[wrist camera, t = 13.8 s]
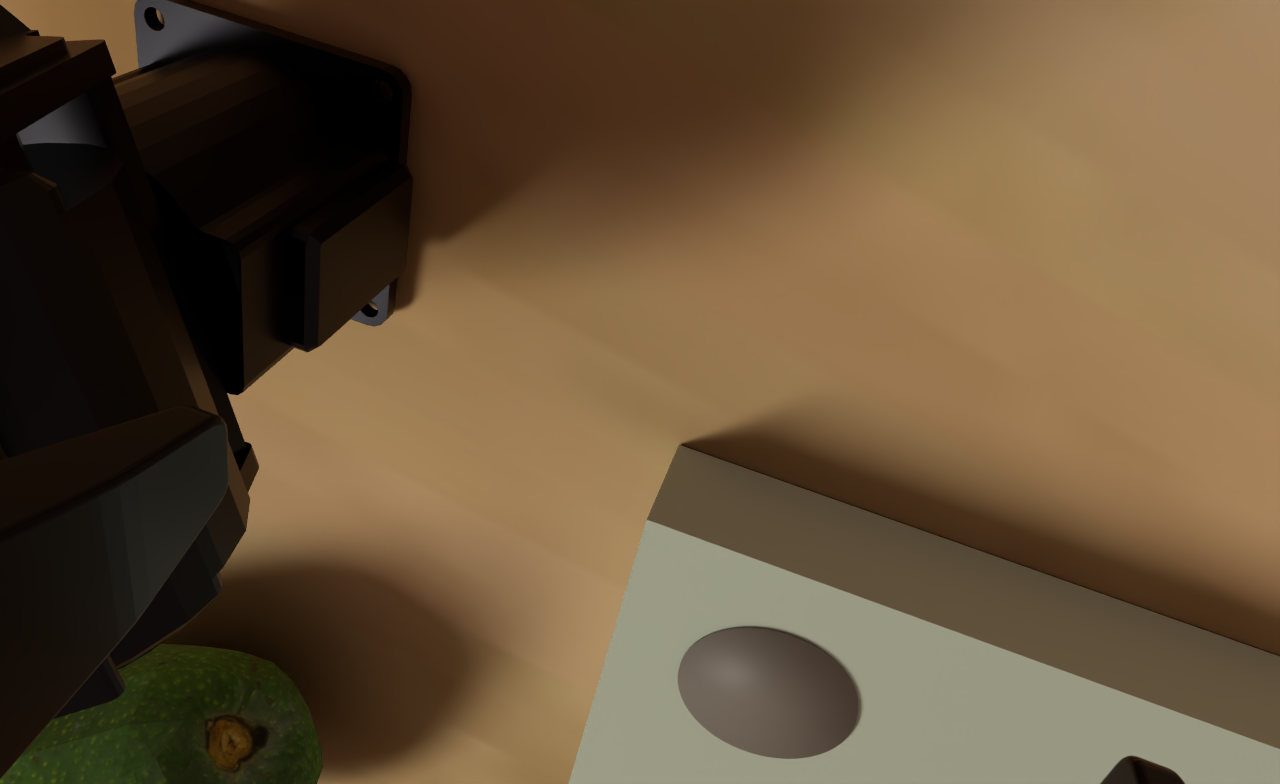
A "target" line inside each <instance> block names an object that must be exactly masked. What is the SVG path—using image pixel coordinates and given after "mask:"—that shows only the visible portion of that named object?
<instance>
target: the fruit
mask: <svg viewBox="0 0 1280 784" xmlns="http://www.w3.org/2000/svg"><path fill="white" fill-rule="evenodd" d="M118 671H119V673H120V675H121V677H122V679H123V681H124V683H125V686H126V687H125V690H124V692H123V693H122V694H121V695H120V696H119V697H118V698H116V699H115V700H113V701H110V702H107V703H104V704H101V705H98V706H95V707H91V708H88V709H85V710H82V711H79V712H75V713H72V714H69V715H66V716H62V717H59V718H56V719H53V720H52V721H51V722H50V723H49V724H48V725H47V726H46V728H45V729H44V730H43V731H42V732H41V733H40V734H39V736H38V737H37V738H36V739H35V740H34V741H33V743H32V744H31V745H30V746H29V747H28V748H27V749H26V751H25V752H24V753H23V754H22V755H21V756H20V757H19V759H18V760H17V761H16V762H15V763H14V764H13V766H12V767H11V768H10V769H9V770H8V771H7V772H6V774H5V775H4V776H3V777H2V778H1V779H0V784H317V782H318V779H319V776H320V773H321V771H322V768H323V763H322V754H321V745H320V742H319V739H318V736H317V733H316V729H315V726H314V723H313V720H312V716H311V713H310V710H309V707H308V705H307V703H306V702H305V700H304V698H303V697H302V695H301V693H300V692H299V690H298V688H297V687H296V685H295V684H294V682H293V680H292V679H291V678H289V677H288V676H287V675H286V674H285V673H284V672H283V671H282V670H281V669H280V668H278V667H277V666H276V665H275V664H274V663H273V662H270V661H268V660H265V659H262V658H259V657H256V656H253V655H250V654H248V653H245V652H240V651H234V650H228V649H221V648H213V647H205V646H195V645H178V644H159V645H158V646H157V647H156V648H154V649H153V650H152V651H151V652H149V653H147V654H146V655H144V656H142V657H140V658H139V659H137V660H135V661H134V662H132V663H130V664H129V665H127V666H125V667H123V668H121V669H119V670H118Z"/></svg>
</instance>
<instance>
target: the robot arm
mask: <svg viewBox="0 0 1280 784" xmlns="http://www.w3.org/2000/svg"><path fill="white" fill-rule="evenodd" d="M156 9H157V10H159V11H160V13H161V14H162V15H163V18H164V22H165V24H164V25H163V24H162V23H161V22H160V21H159V19H158V17H157V14H156ZM134 16H135V28H136V40H137V52H138V64H139V69H136V70H134V71H131V72H128V73H125V74H123V75H120V76H117V77H115V78H111V76H113V75H114V74H116V70H115V67H114V64H113V62H112V59H111V56H110V53H109V51H108V48H107V45H106V42H105V40H82V41H65V40H64V37H52V36H40V35H39V32H38V30H30V29H29V28H28V27H27V26H25V25H24V24H23V23H22V22H21V21H19V20H18V19H17V18H16V17H15V16H13V15H12V14H11V13H10V12H9V11H7V10H6V9H5V8H4V7H3V6H1V5H0V779H1V778H2V777H3V776H4V775H5V774H6V772H7V771H8V770H9V769H10V768H11V767H12V766H13V764H14V763H15V762H16V761H17V760H18V759H19V757H20V756H21V755H22V754H23V753H24V752H25V751H26V749H27V748H28V747H29V746H30V745H31V744H32V743H33V741H34V740H35V739H36V738H37V737H38V736H39V734H40V733H41V732H42V731H43V730H44V729H45V728H46V726H47V725H48V724H49V723H50V722H51V721H52V720H53V719H56V718H59V717H62V716H66V715H69V714H72V713H75V712H79V711H82V710H85V709H88V708H91V707H95V706H98V705H101V704H104V703H107V702H110V701H113V700H115V699H116V698H118V697H119V696H120V695H121V694H122V693H123V692H124V690H125V687H126V686H125V683H124V681H123V679H122V677H121V675H120V673H119V671H118V670H119V669H121V668H123V667H125V666H127V665H129V664H130V663H132V662H134V661H135V660H137V659H139V658H140V657H142V656H144V655H146V654H147V653H149V652H151V651H152V650H153V649H154V648H156V647H157V646H158V645H159V644H161V643H162V642H163V641H165V640H166V639H167V638H169V637H170V636H172V635H173V634H175V633H176V632H178V631H179V630H181V629H182V628H184V627H185V626H186V625H187V624H188V623H189V622H191V621H192V620H193V619H194V618H195V617H196V616H197V615H198V614H199V613H201V612H202V611H203V610H204V609H205V608H206V607H207V606H208V605H209V604H210V603H212V601H213V600H214V599H215V598H216V596H217V595H218V594H219V592H220V591H221V589H222V584H223V582H222V579H221V577H220V575H219V571H220V570H221V569H222V568H223V567H224V565H225V564H226V562H227V560H228V559H229V557H230V555H231V554H232V552H233V551H234V549H235V547H236V546H237V544H238V543H239V541H240V539H241V538H242V536H243V534H244V533H245V531H246V527H247V519H248V512H249V504H250V497H249V495H248V491H249V489H250V487H251V485H252V482H253V480H254V478H255V476H256V473H257V471H258V469H259V465H258V462H257V459H256V456H255V454H254V451H253V448H252V445H251V444H250V443H247V442H244V439H243V436H242V433H241V431H240V428H239V425H238V422H237V420H236V417H235V414H234V412H233V409H232V406H231V403H230V401H229V398H228V395H227V393H229V394H233V395H239V394H241V393H242V392H244V391H245V390H246V389H247V388H248V387H249V386H251V385H252V384H253V383H254V382H255V381H256V380H258V379H259V378H260V377H261V376H262V375H263V374H264V373H266V372H267V371H268V370H269V369H270V368H271V367H273V366H274V365H275V364H276V363H277V362H278V361H280V360H281V359H282V358H283V357H284V356H285V355H286V354H288V353H289V352H290V351H291V350H292V349H293V348H297V349H299V350H302V351H305V352H310V351H312V350H313V349H315V348H317V347H319V346H321V345H322V344H323V343H324V342H325V341H326V340H327V339H329V338H330V337H331V336H332V335H333V334H334V333H335V332H336V331H338V330H339V329H340V328H341V327H342V326H343V325H344V324H345V323H346V322H348V321H349V320H350V319H352V320H354V321H357V322H360V323H363V324H366V325H370V326H378V325H381V324H382V323H383V322H384V321H385V320H387V319H388V318H389V317H390V316H391V315H392V314H393V312H394V309H395V299H396V287H397V277H398V276H399V275H400V274H401V273H402V272H403V271H404V270H405V267H406V257H407V246H408V234H409V222H410V210H411V198H412V186H413V177H412V175H411V173H410V171H409V168H408V167H407V166H406V160H407V148H408V135H409V122H410V110H411V97H412V92H411V85H410V82H409V80H408V78H407V76H406V75H405V74H404V73H403V72H402V71H401V70H400V69H399V68H397V67H395V66H393V65H391V64H388V63H385V62H381V61H378V60H375V59H372V58H369V57H366V56H363V55H359V54H356V53H353V52H350V51H347V50H344V49H341V48H338V47H334V46H331V45H328V44H325V43H322V42H319V41H316V40H312V39H309V38H306V37H303V36H300V35H297V34H294V33H290V32H287V31H284V30H281V29H278V28H275V27H272V26H269V25H265V24H262V23H259V22H256V21H253V20H250V19H247V18H243V17H240V16H237V15H234V14H231V13H228V12H225V11H221V10H218V9H215V8H212V7H209V6H206V5H203V4H200V3H196V2H193V1H190V0H137V2H136V4H135V10H134ZM381 81H384V82H385V83H387V84H388V85H389V86H390V88H391V89H392V94H393V97H392V99H389V98H388V97H386V96H384V94H383V93H382V91H381V88H380V82H381ZM370 301H373V302H374V303H375V304H376V306H377V308H378V310H375V309H374V308H372V307H371V306H370V304H369V302H370ZM1100 784H1185V783H1184V781H1183V780H1182V779H1181V777H1180V776H1179V775H1178V774H1177V773H1176V772H1174V771H1173V770H1171V769H1169V768H1167V767H1164V766H1161V765H1159V764H1156V763H1153V762H1151V761H1148V760H1145V759H1143V758H1140V757H1137V756H1127V757H1124V758H1122V759H1121V760H1120V761H1119V762H1118V763H1117V764H1116V765H1115V766H1114V768H1113V769H1112V770H1111V771H1110V772H1109V773H1108V775H1107V776H1106V777H1105V778H1104V779H1103V781H1102V782H1101V783H1100Z"/></svg>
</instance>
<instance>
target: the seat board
mask: <svg viewBox="0 0 1280 784" xmlns="http://www.w3.org/2000/svg"><path fill="white" fill-rule="evenodd" d="M1127 756H1137V757H1140V758H1143V759H1145V760H1148V761H1151V762H1153V763H1156V764H1159V765H1161V766H1164V767H1167V768H1169V769H1171V770H1173V771H1174V772H1176V773H1177V774H1178V775H1179V776H1180V777H1181V779H1182V780H1183V781H1184V783H1185V784H1280V656H1277V655H1274V654H1271V653H1268V652H1265V651H1263V650H1260V649H1257V648H1254V647H1251V646H1248V645H1246V644H1243V643H1240V642H1237V641H1234V640H1231V639H1229V638H1226V637H1223V636H1220V635H1217V634H1214V633H1212V632H1209V631H1206V630H1203V629H1200V628H1197V627H1194V626H1192V625H1189V624H1186V623H1183V622H1180V621H1177V620H1175V619H1172V618H1169V617H1166V616H1163V615H1160V614H1158V613H1155V612H1152V611H1149V610H1146V609H1143V608H1141V607H1138V606H1135V605H1132V604H1129V603H1126V602H1124V601H1121V600H1118V599H1115V598H1112V597H1109V596H1107V595H1104V594H1101V593H1098V592H1095V591H1092V590H1090V589H1087V588H1084V587H1081V586H1078V585H1075V584H1073V583H1070V582H1067V581H1064V580H1061V579H1058V578H1056V577H1053V576H1050V575H1047V574H1044V573H1041V572H1038V571H1036V570H1033V569H1030V568H1027V567H1024V566H1021V565H1019V564H1016V563H1013V562H1010V561H1007V560H1004V559H1002V558H999V557H996V556H993V555H990V554H987V553H985V552H982V551H979V550H976V549H973V548H970V547H968V546H965V545H962V544H959V543H956V542H953V541H951V540H948V539H945V538H942V537H939V536H936V535H934V534H931V533H928V532H925V531H922V530H919V529H917V528H914V527H911V526H908V525H905V524H902V523H900V522H897V521H894V520H891V519H888V518H885V517H883V516H880V515H877V514H874V513H871V512H868V511H865V510H863V509H860V508H857V507H854V506H851V505H848V504H846V503H843V502H840V501H837V500H834V499H831V498H829V497H826V496H823V495H820V494H817V493H814V492H812V491H809V490H806V489H803V488H800V487H797V486H795V485H792V484H789V483H786V482H783V481H780V480H778V479H775V478H772V477H769V476H766V475H763V474H761V473H758V472H755V471H752V470H749V469H746V468H744V467H741V466H738V465H735V464H732V463H729V462H727V461H724V460H721V459H718V458H715V457H712V456H709V455H707V454H704V453H701V452H698V451H695V450H692V449H690V448H687V447H684V446H681V445H679V446H678V449H677V451H676V453H675V456H674V458H673V460H672V463H671V465H670V467H669V469H668V472H667V474H666V476H665V479H664V481H663V483H662V486H661V488H660V490H659V493H658V495H657V497H656V500H655V502H654V504H653V506H652V509H651V511H650V513H649V516H648V518H647V521H646V524H645V527H644V531H643V534H642V537H641V541H640V544H639V548H638V551H637V554H636V558H635V561H634V565H633V568H632V571H631V575H630V578H629V581H628V585H627V588H626V592H625V595H624V598H623V602H622V605H621V608H620V612H619V615H618V619H617V622H616V625H615V629H614V632H613V635H612V639H611V642H610V646H609V649H608V652H607V656H606V659H605V662H604V666H603V669H602V673H601V676H600V679H599V683H598V686H597V689H596V693H595V696H594V700H593V703H592V706H591V710H590V713H589V716H588V720H587V723H586V727H585V730H584V733H583V737H582V740H581V743H580V747H579V750H578V754H577V757H576V760H575V764H574V767H573V771H572V774H571V777H570V781H569V784H1100V783H1101V782H1102V781H1103V779H1104V778H1105V777H1106V776H1107V775H1108V773H1109V772H1110V771H1111V770H1112V769H1113V768H1114V766H1115V765H1116V764H1117V763H1118V762H1119V761H1120V760H1121V759H1122V758H1124V757H1127Z"/></svg>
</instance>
